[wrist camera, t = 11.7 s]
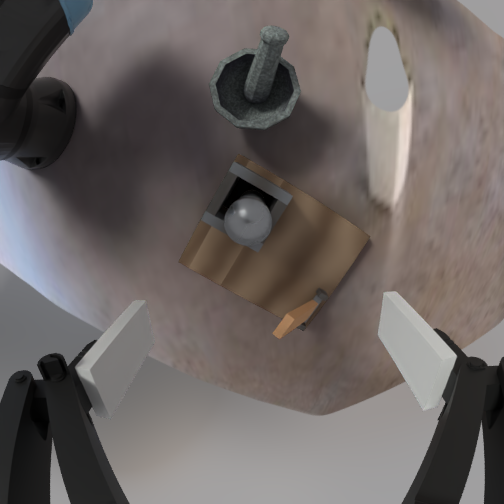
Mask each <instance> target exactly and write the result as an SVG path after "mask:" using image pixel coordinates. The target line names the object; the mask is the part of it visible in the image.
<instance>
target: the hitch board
mask: <svg viewBox="0 0 504 504" xmlns="http://www.w3.org/2000/svg"><path fill="white" fill-rule="evenodd" d="M240 178H242V179H244V180H245V181H247V182H249V183H251V184H252V185H254V186H256V187H258V188H259V189H261V190H263V191H264V192H266V193H268V194H269V195H271V196H272V198H271V199H270V201H269V203H268V204H267V207H268V209H269V211H270V214H271V218H272V227H271V231H270V233H269V235H268V236H267V237H266V239H265V240H263V241H262V242H260V243H259V244H256V245H252V246H244V245H240V244H238V243H236V242H234V241H233V240H232V239H231V238H230V237H229V236H228V234H227V232H226V230H225V226H224V218H225V214H226V212H227V210H228V208H226V207H224V205H225V203H226V201H227V199H228V198H229V196H230V194H231V192H232V191H233V189H234V187H235V185H236V184H237V182H238V180H239V179H240ZM369 238H370V236H369V235H368V234H366V233H365V232H363V231H362V230H360V229H359V228H358V227H356V226H355V225H353V224H352V223H350V222H349V221H347V220H346V219H344V218H343V217H341V216H340V215H338V214H337V213H335V212H334V211H332V210H331V209H329V208H328V207H326V206H325V205H323V204H321V203H320V202H318V201H317V200H315V199H314V198H312V197H311V196H309V195H307V194H306V193H304V192H303V191H301V190H299V189H298V188H296V187H294V186H293V185H291V184H290V183H288V182H286V181H285V180H283V179H281V178H280V177H278V176H276V175H275V174H273V173H271V172H270V171H268V170H266V169H265V168H263V167H261V166H259V165H258V164H256V163H254V162H252V161H251V160H249V159H247V158H245V157H244V156H242V155H240V154H238V155H237V157H236V159H235V160H234V162H233V164H232V165H231V167H230V169H229V170H228V172H227V174H226V176H225V177H224V179H223V181H222V183H221V184H220V186H219V188H218V190H217V191H216V193H215V195H214V197H213V198H212V200H211V202H210V204H209V206H208V207H207V209H206V211H205V213H204V215H203V217H202V218H201V220H200V222H199V224H198V226H197V228H196V229H195V231H194V233H193V235H192V237H191V239H190V241H189V243H188V244H187V246H186V248H185V250H184V252H183V254H182V256H181V258H180V260H179V263H181V264H183V265H185V266H186V267H188V268H190V269H192V270H193V271H195V272H197V273H199V274H200V275H202V276H204V277H206V278H208V279H209V280H211V281H213V282H215V283H217V284H218V285H220V286H222V287H224V288H226V289H227V290H229V291H231V292H233V293H235V294H237V295H239V296H240V297H242V298H244V299H246V300H248V301H250V302H252V303H253V304H255V305H257V306H259V307H261V308H263V309H265V310H267V311H269V312H271V313H272V314H274V315H276V316H278V317H280V318H282V319H283V318H284V317H285V315H286V314H287V313H289V312H290V311H292V310H294V309H296V308H298V307H300V306H302V305H303V304H305V303H307V302H309V301H311V300H312V299H314V297H315V296H316V295H317V296H318V297H319V298H320V299H322V301H321V303H320V304H319V305H318V307H317V308H316V309H315V311H314V312H313V314H312V315H311V316H310V318H309V319H308V320H307V322H306V323H304V322H303V323H302V324H300V325H299V326H298V327H296V328H298V329H300V330H302V331H304V330H305V329H306V328H307V326H308V325H309V324H310V322H311V321H312V320H313V318H314V317H315V316H316V314H317V313H318V312H319V310H320V309H321V308H322V306H323V305H324V303H325V302H326V301H327V299H328V298H329V297H330V295H331V294H332V292H333V291H334V290H335V288H336V287H337V285H338V284H339V282H340V281H341V280H342V278H343V277H344V275H345V274H346V272H347V271H348V269H349V268H350V266H351V265H352V263H353V262H354V260H355V259H356V257H357V256H358V254H359V253H360V251H361V250H362V248H363V247H364V245H365V244H366V242H367V241H368V239H369Z"/></svg>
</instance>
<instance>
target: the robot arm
mask: <svg viewBox="0 0 504 504" xmlns="http://www.w3.org/2000/svg"><path fill="white" fill-rule="evenodd" d="M92 5H93V0H0V160H5V161H8V162H10V163H12V164H15V165H17V166H19V167H21V168H25V169H38V168H43V167H46V166H48V165H50V164H51V163H53V162H54V161H55V160H56V159H57V158H58V157H59V156H60V155H61V153H62V152H63V151H64V149H65V147H66V146H67V144H68V142H69V140H70V137H71V135H72V132H73V128H74V124H75V118H76V103H75V98H74V94H73V92H72V90H71V88H70V87H69V86H68V85H67V84H66V83H65V82H63V81H61V80H58V79H55V78H52V77H42V78H36V77H37V75H38V74H39V72H40V71H41V70H42V68H43V67H44V66H45V64H46V63H47V62H48V61H49V59H50V58H51V57H52V56H53V54H54V53H55V52H56V51H57V49H58V48H59V47H60V46H61V45H62V43H63V42H64V41H65V40H66V39H67V38H68V37H69V35H70V36H71V35H72V34H73V32H74V29H75V28H76V27H77V26H78V25H79V23H80V22H81V21H82V20H83V19H84V18H85V17H86V16H87V15H88V13H89V12H90V11H91V9H92ZM35 78H36V79H35ZM378 336H379V338H380V340H381V341H382V343H383V344H384V346H385V348H386V349H387V351H388V352H389V354H390V356H391V357H392V359H393V360H394V362H395V364H396V365H397V367H398V369H399V370H400V372H401V374H402V375H403V377H404V379H405V380H406V382H407V384H408V385H409V387H410V389H411V390H412V392H413V394H414V396H415V397H416V399H417V401H418V403H419V404H420V406H421V408H422V410H423V411H425V410H429V409H432V408H435V407H438V405H439V402H440V400H441V398H442V397H443V399H444V400H445V402H446V403H445V405H444V407H443V410H442V412H441V414H440V416H439V418H438V420H439V422H438V425H437V427H436V430H435V433H434V435H433V438H432V441H431V443H430V446H429V448H428V450H427V453H426V455H425V457H424V460H423V462H422V464H421V466H420V469H419V471H418V473H417V475H416V477H415V479H414V481H413V483H412V485H411V487H410V489H409V491H408V493H407V495H406V497H405V498H404V500H403V502H402V504H459V502H460V499H461V496H462V493H463V490H464V487H465V484H466V481H467V478H468V475H469V471H470V468H471V464H472V461H473V457H474V453H475V448H476V445H477V440H478V436H479V431H480V425H481V420H482V428H483V439H484V458H485V493H484V504H504V357H502V359H501V361H500V363H499V366H487V364H486V363H485V361H483V360H481V359H479V358H477V357H467V356H466V355H465V354H464V353H463V352H462V350H461V349H460V348H459V347H458V346H457V345H456V344H454V342H453V341H452V340H450V338H449V337H448V336H447V335H446V334H445V333H444V332H442V331H441V330H439V329H437V328H436V329H432V328H431V327H430V326H429V325H428V324H427V323H426V322H425V320H424V319H423V318H422V317H421V316H420V315H419V314H418V313H417V312H416V311H415V310H414V309H413V308H412V307H411V306H410V305H409V304H408V303H407V302H406V301H405V300H404V299H403V298H402V297H401V296H400V295H399V294H398V293H397V292H396V291H391V292H384V294H383V302H382V310H381V317H380V323H379V330H378ZM154 343H155V340H154V335H153V331H152V326H151V322H150V317H149V312H148V307H147V302H146V300H134V301H133V302H132V303H131V304H130V305H129V306H128V307H127V308H126V310H125V311H124V312H123V313H122V314H121V315H120V316H119V317H118V318H117V319H116V321H115V322H114V323H113V324H112V325H111V326H110V327H109V328H108V329H107V331H106V332H105V333H104V334H103V335H102V336H101V337H100V338H99V340H94V341H93V342H91V343H89V344H87V345H86V347H85V348H84V349H83V350H82V352H80V353H79V354H78V356H77V357H76V358H75V359H74V360H73V361H72V362H71V363H70V364H69V366H67V364H66V361H65V359H64V357H63V355H61V354H57V353H54V354H48V355H46V356H44V357H42V358H41V359H40V360H39V361H38V364H37V366H38V368H39V370H40V373H41V375H42V377H43V379H44V380H34V378H33V376H32V374H31V372H29V371H26V370H23V371H18V372H16V373H14V374H13V375H12V376H11V377H10V379H9V381H8V384H7V386H6V389H5V391H4V394H3V397H2V400H1V403H0V504H50V467H51V450H52V438H53V441H54V446H55V450H56V454H57V459H58V463H59V466H60V470H61V474H62V477H63V481H64V484H65V487H66V490H67V494H68V497H69V500H70V503H71V504H129V502H128V500H127V498H126V496H125V494H124V493H123V491H122V489H121V487H120V485H119V483H118V481H117V479H116V476H115V474H114V472H113V470H112V468H111V466H110V464H109V461H108V459H107V457H106V455H105V453H104V450H103V447H102V445H101V442H100V440H99V437H98V435H97V432H96V430H95V427H94V424H93V422H92V418H91V416H90V414H89V411H90V409H91V407H93V409H94V411H95V413H96V415H97V416H100V417H104V418H109V419H111V418H112V417H113V415H114V413H115V411H116V409H117V407H118V406H119V404H120V402H121V400H122V398H123V397H124V395H125V393H126V391H127V390H128V388H129V386H130V384H131V382H132V381H133V379H134V377H135V375H136V374H137V372H138V370H139V368H140V367H141V365H142V363H143V362H144V360H145V358H146V357H147V355H148V353H149V351H150V350H151V348H152V346H153V345H154Z"/></svg>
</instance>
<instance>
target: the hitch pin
mask: <svg viewBox="0 0 504 504" xmlns="http://www.w3.org/2000/svg"><path fill="white" fill-rule="evenodd" d="M224 226H225V230H226V232H227V234H228V236H229V237H230V238H231V239H232V240H233V241H234V242H236V243H238V244H240V245H244V246H252V245H256V244H259V243H260V242H262V241H263V240H265V239H266V237H267V236H268V235H269V233H270V231H271V227H272V218H271V214H270V211H269V209H268V207H267V206H266V205H265V199H264V197H263V195H262V194H261V193H260V192H258V191H256V190H248V191H245V192H244V193H243V194H242V195H241V196H240V198H239V199H238V200H237V201H235V202H234V203H233V204H232V205H231V206H230V207H229V209H228V210H227V212H226V214H225V218H224Z"/></svg>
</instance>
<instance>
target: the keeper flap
mask: <svg viewBox="0 0 504 504" xmlns="http://www.w3.org/2000/svg"><path fill="white" fill-rule="evenodd" d="M321 301H322V299H320V298H319V297H318V296H317V295H316V296H315V297H314V299H312V300H311V301H309V302H307V303H305V304H303V305H302V306H300V307H298V308H296V309H294V310H292V311H290V312H289V313H287V314H286V315H285V317H284V318H283V320H282V321H281V322H280V324H279V325H278V326H277V328H276V329H275V331H274V332H273V333H272V334H274V335H275V336H276V337H277V338H278V339H281V338H282V337H284V336H285V335H287V334H288V333H289V332H291V331H292V330H294V329H295V328H296V327H298V326H299V325H300V324H302V323H303V322H304V323H306V322H307V320H308V319H309V318H310V316H311V315H312V314H313V312H314V311H315V309H316V308H317V307H318V305H319V304H320V303H321Z"/></svg>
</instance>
